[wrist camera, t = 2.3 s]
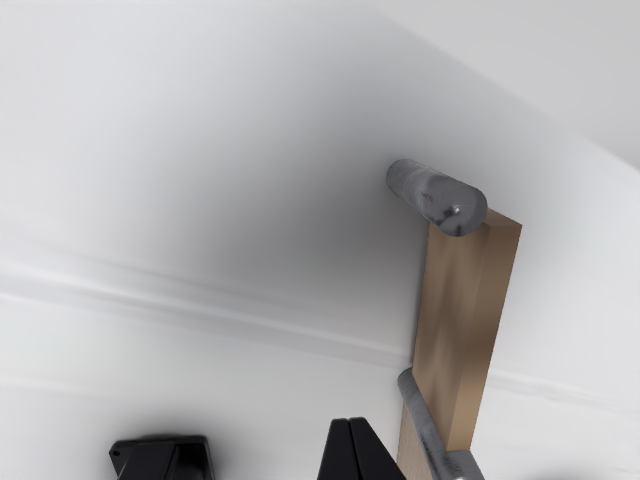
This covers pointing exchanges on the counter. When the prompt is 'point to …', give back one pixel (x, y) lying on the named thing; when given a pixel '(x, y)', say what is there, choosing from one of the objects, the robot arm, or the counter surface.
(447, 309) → the gate leaf
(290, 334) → the counter surface
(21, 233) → the counter surface
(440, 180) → the gate frame
